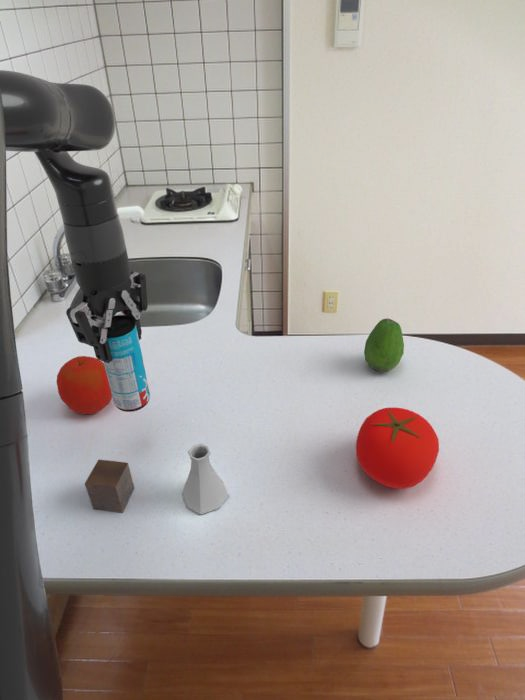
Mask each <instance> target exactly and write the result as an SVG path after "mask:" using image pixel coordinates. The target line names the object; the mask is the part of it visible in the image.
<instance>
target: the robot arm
mask: <svg viewBox="0 0 525 700" xmlns="http://www.w3.org/2000/svg"><path fill="white" fill-rule="evenodd" d="M115 132H116V115H115V111H114V108H113V106H112V103H111V102H110V100H109V99H108V97H107V96H106V95H105V94H104V93H103V92H102V91H101V90H100V89H98V88H97V87H96V86H93V85H90V84H81V83H68V82H67V83H65V82H64V83H63V82H62V83H61V82H52V81H48V80H46V79H44V78H40V77H37V76H34V75H30V74H28V73H23V72H19V71H14V70H5V69H3V70H2V69H0V700H64V691H63V690H64V689H63V680H62V671H61V665H60V659H59V653H58V652H59V651H58V647H57V642H56V637H55V632H54V628H53V622H52V618H51V612H50V606H49V603H48V597H47V592H46V588H45V582H44V578H43V572H42V568H41V562H40V554H39V548H38V541H37V533H36V523H35V514H34V505H33V495H32V494H33V493H32V480H31V469H30V468H31V467H30V453H29V441H28V440H29V438H28V427H27V418H26V409H25V399H24V398H25V397H24V392H23V383H22V377H21V370H20V364H19V355H18V350H17V342H16V331H15V323H14V313H13V304H12V295H11V283H10V270H9V268H10V267H9V253H8V206H7V205H8V196H7V195H8V193H7V192H8V191H7V189H8V188H7V186H8V185H7V184H8V183H7V152H18V153H34V154H35V156H36V158H37V159H38V161H39V163H40V165H41V167H42V168H43V171H44V173H45V174H46V176H47V179H48V180H49V182H50V184H51V186H52V188H53V190H54V193H55V197H56V200H57V204H58V207H59V211H60V215H61V220H62V224H63V231H64V239H65V242H66V246H67V250H68V253H69V257H70V262H71V265H72V269H73V272H74V276H75V281H76V283H77V285H78V286H79V288H80V290H81V294H82V295H81V303H80V304H78V305H77V306H76V307H75V308H73V307H68V308H67V309H66V311H65V312H66V317H67V319H68V321H69V323H70V326H71V327H72V330H73V332H74V335H75V337H76V339H77V342H79V343H81V344H85V345H87V346H89V347H93V351H94V355H95V358H96V359H98V360H100V361H102V362H103V363H104V362H106V363H109V362H111V361H112V355H111V351H110V347H109V343H108V341H106V339H107V331H108V328H110V327H111V321H112V317H114V316H116V315H117V314H118V313H122V315H125V316H129V317H132V318H133V319H134V320H135V323H136V328H137V333H138V338H139V341H140V340H141V339H142V334H143V333H142V332H143V331H142V326H141V322H140V319H141V315H142V312H145V311H147V310H148V307H149V306H148V292H147V279H146V275H145V274H144V273H140V272H136V271H134V270H133V271H132V270H131V266H130V261H129V256H128V255H129V254H128V251H127V246H126V241H125V235H124V231H123V227H122V223H121V221H120V218H119V214H118V209H117V205H116V200H115V193H114V189H113V184H112V180H111V177H110V176H109V174H108V172H106V171H105V170H104V169H102V168H99V167H94V166H89V165H85V164H81V163H79V162H77V161H76V160H75V159H74V157H72V156H71V154H70V152H91V151H93V152H94V151H100V150H103V149H105V148H106V147H107V146H109V144H110V143H111V142H112V140H113V138H114V135H115ZM98 318H101V319H98ZM102 320H103V321H102ZM98 327H99V334H98V333H97V329H98Z"/></svg>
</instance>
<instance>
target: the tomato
mask: <svg viewBox="0 0 525 700" xmlns="http://www.w3.org/2000/svg"><path fill="white" fill-rule="evenodd" d="M355 441H356V442H355V455H356V459H357V461H358V463H359V465H360V467H361V469H362V470H363V471H364V473H365V474H366V475H367V476H368V477H369V478H371V479H372V480H374V481H375V482H377V483H379V484H381V485H382V486H385V487H388V488H391V489H408V488H412V487H413V488H414V487H415V486H417V485H418V484H420V483H421V482H423V481H424V480H425V479H426V478H427V477H428V475H429V474H430V472H431V470H433V468H434V466H435V464H436V462H437V459H438V455H439V452H440V443H439V441H440V440H439V436H438V435H437V433H436V431H435V429H434V428H433V426H432V424H431V423H430V422H429V420H427V419H426V418H425V417H424V416H421V415H420V414H419V413H417V412H416V411H413V410H409V409H407V408H402V407H383V408H381V409H377V410H376V411H374V412H372V413H371V414H370V415H368V416H367V417H366V418H365V419H364V421H363V422H362V424H361V425H360V428H359V430H358V433H357V436H356V440H355Z"/></svg>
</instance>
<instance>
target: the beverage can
mask: <svg viewBox="0 0 525 700" xmlns="http://www.w3.org/2000/svg"><path fill="white" fill-rule="evenodd" d="M101 320H102V321H103V319H101ZM97 333H98V334H99V327H98V329H97ZM106 341H108V343H109V347H110V351H111V355H112V361H111V362H109V363H106V362H103V363H104V366H105V369H106V373H107V377H108V381H109V385H110V389H111V393H112V400H113V404H114V405H115V408H117V409H118V410H119V411H121V412H126V413H132V412H133V413H134V412H137V411H139V410H142V409H143V408H145V407H146V406H147V405H148V403H149V401H150V399H151V392H150V388H149V383H148V378H147V374H146V373H147V372H146V367H145V363H144V358H143V353H142V347H141V344H140V343H141V342H140V340H139V338H138V333H137V328H136V323H135V320H134V319H133V318H132V317H129V316H125V315H123V314H116V315H115V316H114V317H112V321H111V327H110V328H108V331H107V339H106Z"/></svg>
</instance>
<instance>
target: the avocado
mask: <svg viewBox="0 0 525 700" xmlns="http://www.w3.org/2000/svg"><path fill="white" fill-rule="evenodd" d="M404 350H405V343H404V337H403V331H402V327H401V325H400V324H399V322H397V321H395V320H393V319H391V318H389V317H388V318H382V319H381V320H379V321H378V322H377V324H376V325H375V326H374V327H373V329H372V330H371V331H370V333H369V335H368V337H367V338H366V340H365V345H364V351H363V355H364V359H365V362H366V364H367V365H368V366H369V367H370V368H372V369H374V370H375V371H378V372H390V371H391V370H394V369H395V368H396V367H397V366H398V365H399V364H400V362H401V360H402V358H403V355H404Z"/></svg>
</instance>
